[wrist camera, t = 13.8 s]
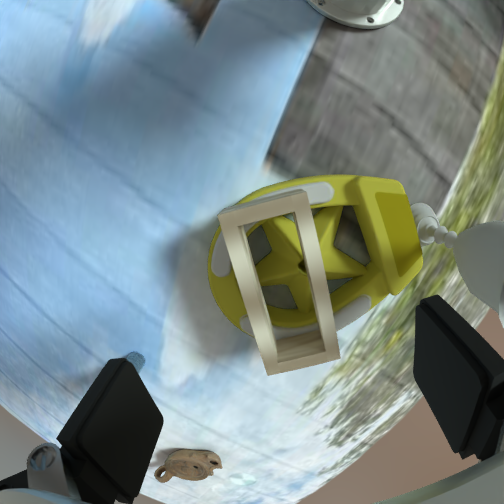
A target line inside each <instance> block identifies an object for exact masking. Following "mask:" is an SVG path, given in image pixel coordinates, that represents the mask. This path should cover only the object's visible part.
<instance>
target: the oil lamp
mask: <svg viewBox="0 0 504 504" xmlns="http://www.w3.org/2000/svg"><path fill="white" fill-rule="evenodd" d="M216 468H221V469H222V464H221V460H220V458H219V456H218V455H217V454H216V453H214V452H209V451H197V450H189V449H182V450H178V451H176V452H174V453H172V454H170V455H169V456H168V458H167V459H166V461H165V465H163V466H161V467H159V468H158V469H157V470H156V471H155V473H154V476H155V478H156V479H157V480H158V481H159V482H161V483H165V482H167V481H169V480H170V479H171V478H172V476H176V477H179V478H181V479H185V480H191V481H198V480H203V479H205V478H207V477H208V476H209V475H210V476H212V475H213V469H216ZM164 471H166V472H165V474H164V475H163V476H162V477H160V476H161V474H162V473H163V472H164Z"/></svg>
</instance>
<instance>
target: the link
mask: <svg viewBox="0 0 504 504" xmlns="http://www.w3.org/2000/svg"><path fill="white" fill-rule="evenodd" d="M290 212H292V214H293V218H294V222H295V226H296V230H297V234H298V238H299V242H300V246H301V250H302V255H303V259H304V263H305V268H306V272H307V276H308V281H309V285H310V290H311V294H312V299H313V303H314V308H315V313H316V317H317V322H318V327H319V330H316V331H312V332H308V333H304V334H300V335H296V336H291V337H287V338H283V339H278V340H276V338H275V334H274V331H273V327H272V324H271V320H270V317H269V313H268V310H267V306H266V303H265V299H264V296H263V292H262V289H261V285H260V282H259V279H258V275H257V272H256V268H255V265H254V261H253V258H252V254H251V251H250V247H249V244H248V240H247V237H246V233H245V230H244V226H243V225H245V224H248V223H252V222H256V221H260V220H263V219H267V218H271V217H275V216H279V215H283V214H287V213H290ZM217 216H218V219H219V222H220V226H221V229H222V232H223V236H224V239H225V242H226V246H227V249H228V252H229V256H230V259H231V262H232V265H233V269H234V272H235V275H236V278H237V282H238V285H239V288H240V291H241V294H242V298H243V301H244V304H245V307H246V310H247V313H248V317H249V320H250V323H251V326H252V329H253V332H254V335H255V339H256V342H257V345H258V348H259V351H260V354H261V357H262V360H263V363H264V366H265V369H266V372H267V375H268V376H269V375H274V374H278V373H283V372H288V371H292V370H297V369H301V368H305V367H309V366H314V365H318V364H322V363H325V362H329V361H333V360H337V359H340V352H339V345H338V339H337V333H336V328H335V322H334V316H333V311H332V305H331V300H330V295H329V290H328V285H327V280H326V275H325V270H324V265H323V260H322V256H321V251H320V246H319V242H318V237H317V233H316V229H315V224H314V220H313V216H312V212H311V207H310V203H309V199H308V195H307V192H306V191H304V190H302V189H301V188H300V189H296V190H292V191H288V192H284V193H280V194H276V195H272V196H268V197H264V198H261V199H257V200H253V201H249V202H246V203H242V204H238V205H235V206H231V207H228V208H224V209H223V210H222V211H221V212H220V213H219V214H218V215H217Z"/></svg>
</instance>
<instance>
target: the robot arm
mask: <svg viewBox="0 0 504 504" xmlns="http://www.w3.org/2000/svg"><path fill="white" fill-rule="evenodd" d="M306 1H307V2H308V3H309V4H310V5H311V6H312V7H313V8H314V9H315V10H317V11H318V12H319V13H321V14H322V15H324V16H326V17H327V18H329V19H331V20H333V21H336V22H338V23H340V24H343V25H347V26H350V27H354V28H361V29H376V28H382V27H384V26H387V25H389V24H391V23H392V22H393V21H395V20H396V19H397V17H398V16H399V15H400V14H401V12H402V10H403V6H404V0H306ZM413 374H414V378H415V381H416V383H417V384H418V386H419V388H420V390H421V391H422V393H423V395H424V397H425V399H426V400H427V402H428V404H429V406H430V408H431V410H432V412H433V413H434V415H435V417H436V419H437V421H438V423H439V425H440V427H441V429H442V431H443V432H444V434H445V437H446V439H447V440H448V443H449V444H450V446H451V449H452V450H453V452H454V453H458V452H459V454H460V456H461V458H462V459H465V458H467V457H469V456H470V455H473V454H475V455H476V457H477V459H479V462H478V464H476V465H474V466H472V467H469V468H467V469H466V470H463V471H461V472H459V473H457V474H455V475H452V476H450V477H448V478H445V479H443V480H440V481H438V482H436V483H433V484H431V485H428V486H425V487H422V488H420V489H417V490H414V491H411V492H409V493H406V494H403V495H400V496H397V497H393V498H390V499H387V500H384V501H380V502H377V503H373V504H504V359H503V358H501V356H500V355H499V354H498V353H497V352H496V351H495V350H494V349H493V348H492V347H491V346H490V345H489V343H488V342H487V341H486V340H485V339H484V338H483V337H482V336H481V335H480V334H479V333H478V332H477V331H476V330H475V329H474V328H473V327H472V326H471V325H470V324H469V323H468V322H467V321H466V320H465V319H464V318H463V317H461V316H460V315H459V314H458V313H457V312H456V311H455V310H454V309H453V308H452V307H451V306H450V305H449V304H448V303H447V302H446V301H445V300H443V299H442V298H441V297H440V296H439V295H434V296H431V297H428V298H424V299H422V300H421V301H420V305H417V306H416V316H415V351H414V367H413ZM162 426H163V416H162V414H161V412H160V411H159V409H158V407H157V406H156V404H155V402H154V401H153V399H152V397H151V396H150V394H149V392H148V390H147V389H146V387H145V385H144V383H143V382H142V380H141V378H140V376H139V374H138V372H137V371H136V369H135V367H134V365H133V364H132V363H131V362H129V361H128V360H127V359H126V358H118V359H110V360H109V361H108V362H107V364H106V365H105V367H104V368H103V369H102V371H101V372H100V374H99V375H98V377H97V378H96V379H95V381H94V382H93V384H92V385H91V387H90V388H89V390H88V391H87V393H86V394H85V396H84V397H83V399H82V400H81V402H80V403H79V404H78V406H77V407H76V409H75V411H74V412H73V414H72V415H71V417H70V418H69V420H68V421H67V423H66V424H65V426H64V427H63V429H62V430H61V432H60V434H59V435H58V437H57V438H56V439H57V440H58V441H59V442H60V444H61V445H62V447H61V448H59V447H58V446H57V445H56V444H53V443H44V444H41V445H39V446H37V447H36V448H35V449H33V451H32V452H31V453H30V454H29V456H28V459H27V469H26V470H24V471H22V472H20V473H17V474H15V475H13V476H10V477H8V478H6V479H3V480H1V481H0V504H114V502H115V499H116V500H117V501H118V502H121V503H126V504H132V503H133V500H134V498H135V497H137V496H138V494H139V492H140V489H141V486H142V483H143V480H144V477H145V474H146V472H147V469H148V466H149V463H150V460H151V457H152V454H153V452H154V449H155V446H156V443H157V440H158V438H159V435H160V432H161V429H162Z"/></svg>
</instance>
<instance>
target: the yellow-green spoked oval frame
mask: <svg viewBox="0 0 504 504" xmlns="http://www.w3.org/2000/svg"><path fill="white" fill-rule="evenodd" d="M300 188H301V189H302V190H304V191H306V192H307V195H308V199H309V203H310V207H311V209H313V208H319V207H323V208H322V209H321V210H320V211H319V212H318V213H316V214H315V215H314V216H313V220H314V224H315V229H316V233H317V237H318V242H319V246H320V251H321V256H322V260H323V265H324V270H325V275H326V280H333V279H343V278H352V277H353V278H352V279H350V280H349V281H348V282H347V283H345V284H344V285H342V286H341V287H340V288H338V289H337V290H335V291H334V292H332V293H330V294H329V295H330V300H331V305H332V311H333V316H334V322H335V328H336V331H338V330H340V329H342V328H344V327H345V326H347V325H349V324H350V323H352V322H353V321H355V320H357V319H358V318H359V317H361V316H362V315H364V314H365V313H366V312H368V311H369V310H371V309H372V308H373V307H374V306H375V305H377V304H378V303H379V302H380V301H382V300H383V299H384V298H385V297H386V296H387V295H388V294H389V293H390V294H392V295H397V294H399V293H400V292H401V291H402V290H403V289H404V288H405V287H406V285H407V284H408V283H409V282H410V281H411V280H412V279H413V278H414V277H415V276H416V275H417V273H418V272H419V271H420V270H421V268H422V265H423V258H422V249H421V245H420V241H419V237H418V233H417V229H416V225H415V221H414V218H413V214H412V211H411V207H410V204H409V201H408V197H407V195H406V194H405V191H404V188H403V186H402V184H401V183H400V182H398V181H397V180H393V179H385V178H377V177H367V176H357V175H320V176H311V177H304V178H298V179H292V180H288V181H284V182H280V183H276V184H273V185H270V186H266V187H263V188H261V189H258V190H256V191H254V192H252V193H251V194H249V195H247V196H246V197H245V198H243V199H242V200H241V201H239V202H238V203H237V204H236V205H238V204H242V203H246V202H249V201H253V200H257V199H261V198H264V197H268V196H272V195H276V194H280V193H284V192H288V191H292V190H296V189H300ZM344 205H352V206H353V209H354V211H355V214H356V217H357V220H358V223H359V226H360V229H361V231H362V234H363V237H364V240H365V244H366V247H367V250H368V253H369V256H370V259H371V261H370V263H369V264H368V265H367V266H366V267H365V266H364V265H362V264H361V263H359V262H358V261H356V260H354V259H353V258H351V257H350V256H348V255H347V254H345V253H343V252H342V251H340V250H339V249H337V248H335V247H334V245H333V244H334V240H335V236H336V232H337V229H338V225H339V221H340V217H341V213H342V210H343V206H344ZM290 213H292V212H290ZM287 214H289V213H287ZM283 215H286V214H283ZM283 215H279V216H275V217H271V218H267V219H263V220H260V221H256V222H252V223H248V224H245V225H243V226H244V230H245V233H246V237H248V236H249V235H250V234H251V233H252V232H253V231H254V230H255V229H256V228H257V227H258V226H260V225H262V228H263V230H264V232H265V234H266V237H267V239H268V241H269V243H270V246H271V248H272V250H271V252H270V253H269V254H268V255H267V256H266V257H264V258H263V259H262V260H261V261H260V262H259V263H257V264H256V265H255V268H256V272H257V275H258V279H259V282H260V285H261V286H271V285H282V284H285V285H287V286H288V287H289V289H290V292H291V294H292V296H293V299H294V301H295V303H296V306H297V309H282V308H276V307H273V306H270V305H268V304H266V306H267V310H268V313H269V317H270V320H271V324H272V327H273V331H274V334H275V338H276V340H278V339H283V338H287V337H291V336H296V335H300V334H304V333H308V332H312V331H316V330H319V327H318V322H317V317H316V313H315V308H314V303H313V299H312V294H311V290H310V285H309V281H308V276H307V272H306V268H305V263H304V259H303V255H302V250H301V246H300V242H299V238H298V234H297V230H296V226H295V222H293V221H291V220H290V219H288V218H286V217H285V216H283ZM208 278H209V283H210V288H211V291H212V293H213V296H214V298H215V300H216V303H217V304H218V306H219V308H220V309H221V311H222V312H223V313H224V315H225V316H226V317H227V318H228V319H229V320H230V321H231V322H232V323H233V324H234V325H235V326H236V327H238V328H239V329H240V330H241V331H243V332H245V333H246V334H248V335H250V336H252V337H254V338H255V335H254V332H253V329H252V326H251V323H250V320H249V317H248V313H247V310H246V307H245V304H244V301H243V298H242V294H241V291H240V288H239V285H238V282H237V278H236V275H235V272H234V269H233V265H232V262H231V259H230V256H229V252H228V249H227V246H226V242H225V239H224V236H223V232H222V229H221V226H220V225H219V227H218V229H217V231H216V233H215V235H214V237H213V240H212V243H211V246H210V250H209V256H208Z"/></svg>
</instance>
